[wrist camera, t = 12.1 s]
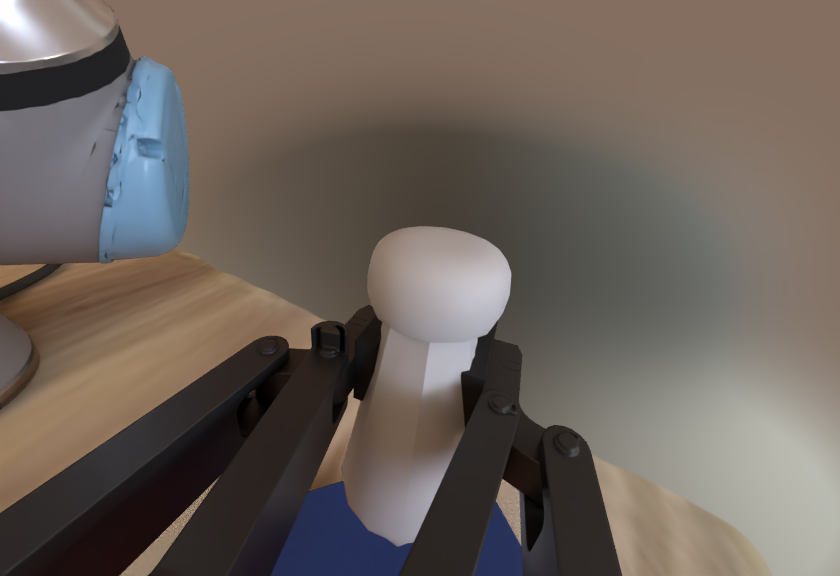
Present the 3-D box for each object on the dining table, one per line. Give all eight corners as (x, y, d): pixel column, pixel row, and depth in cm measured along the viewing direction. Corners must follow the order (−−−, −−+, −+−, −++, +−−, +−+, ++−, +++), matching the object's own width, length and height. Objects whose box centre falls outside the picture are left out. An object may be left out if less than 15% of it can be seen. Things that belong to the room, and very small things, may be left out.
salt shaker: (421, 426, 20) (460, 205, 13) (490, 519, 16) (591, 265, 9) (322, 474, 17) (313, 215, 10) (376, 605, 13) (415, 312, 6)
